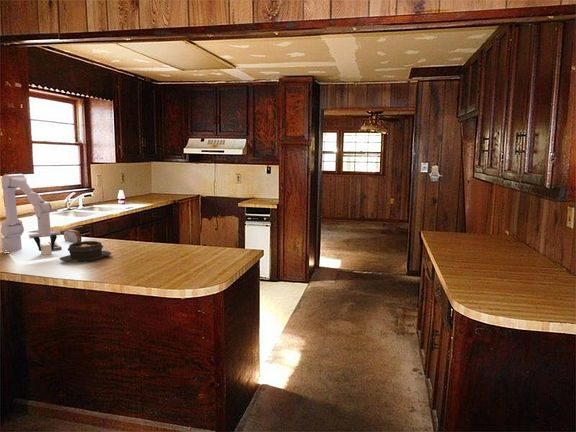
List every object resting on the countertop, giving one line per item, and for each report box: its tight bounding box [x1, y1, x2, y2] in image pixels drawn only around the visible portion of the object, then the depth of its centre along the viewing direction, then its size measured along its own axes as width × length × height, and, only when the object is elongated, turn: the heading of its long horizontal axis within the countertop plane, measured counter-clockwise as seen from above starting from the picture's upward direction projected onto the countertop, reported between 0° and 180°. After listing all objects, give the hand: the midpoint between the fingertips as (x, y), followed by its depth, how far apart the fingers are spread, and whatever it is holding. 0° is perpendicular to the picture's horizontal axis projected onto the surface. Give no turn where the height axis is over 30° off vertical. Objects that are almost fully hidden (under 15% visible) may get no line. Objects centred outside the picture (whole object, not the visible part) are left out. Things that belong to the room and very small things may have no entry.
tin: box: [63, 228, 83, 243], centre depth 265 cm, size 15×3×8 cm, turn 58°
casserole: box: [59, 240, 112, 263], centre depth 227 cm, size 25×19×8 cm
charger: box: [40, 242, 52, 256], centre depth 233 cm, size 4×5×7 cm
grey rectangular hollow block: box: [47, 241, 63, 252], centre depth 246 cm, size 7×15×4 cm, turn 39°
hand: (46, 249), depth 233 cm, fingers open, 5 cm apart
